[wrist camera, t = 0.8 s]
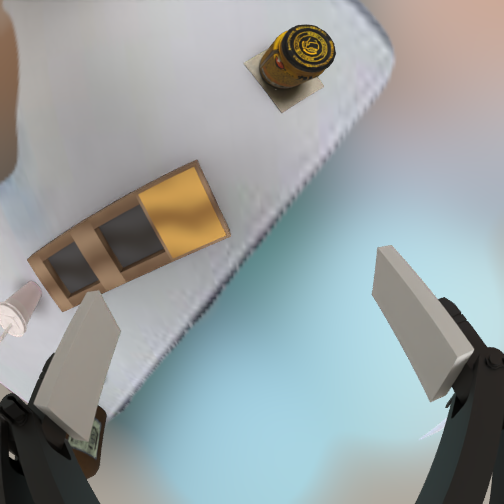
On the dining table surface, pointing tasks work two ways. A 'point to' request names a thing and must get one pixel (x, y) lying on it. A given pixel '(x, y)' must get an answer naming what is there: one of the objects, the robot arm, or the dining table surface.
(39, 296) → the smoothie
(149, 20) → the dining table surface
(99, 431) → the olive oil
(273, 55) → the condiment
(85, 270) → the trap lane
